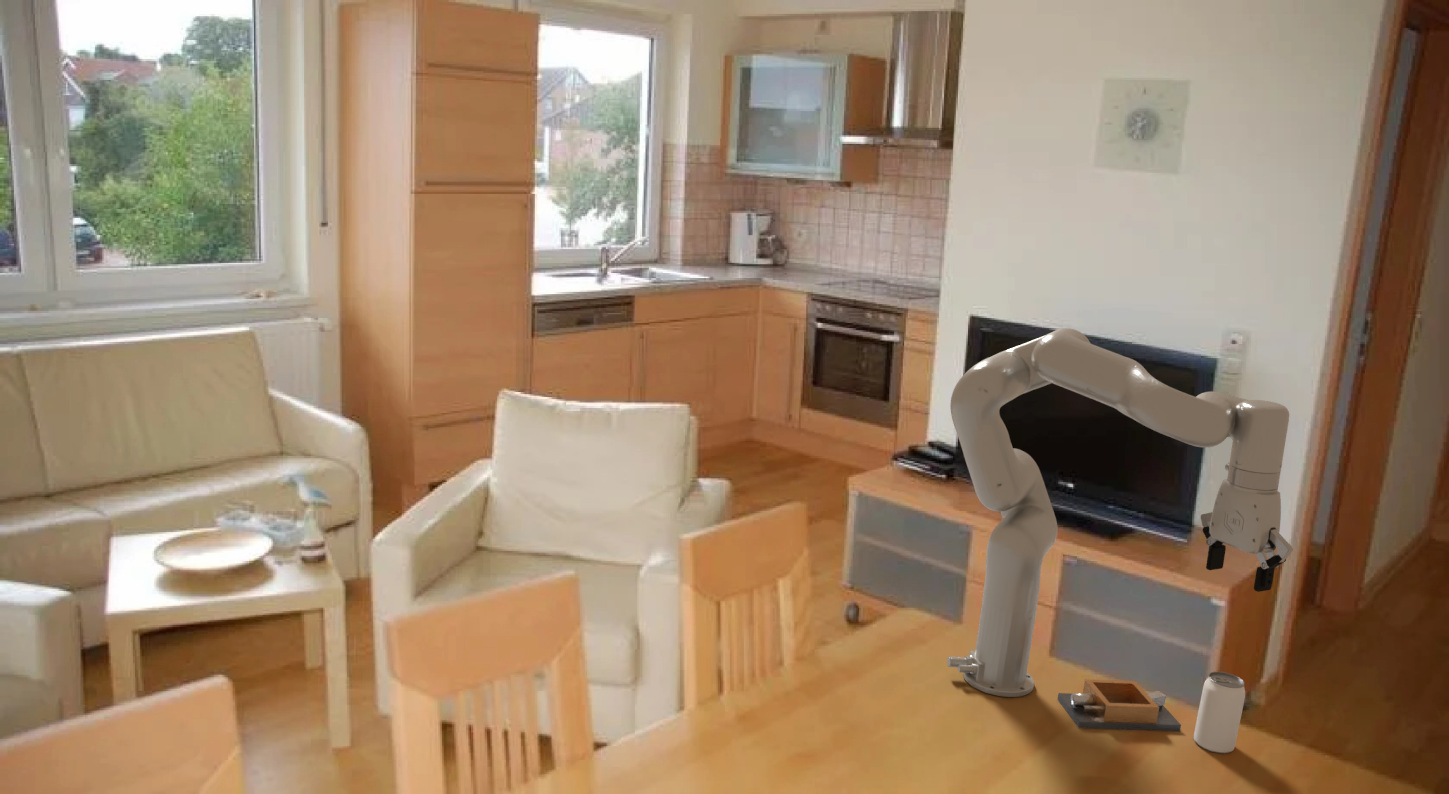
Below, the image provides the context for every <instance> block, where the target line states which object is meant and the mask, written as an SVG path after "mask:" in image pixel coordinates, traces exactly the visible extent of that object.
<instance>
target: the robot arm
mask: <svg viewBox="0 0 1449 794" xmlns="http://www.w3.org/2000/svg"><path fill="white" fill-rule="evenodd" d="M1051 384H1053V385H1056V386H1059V387H1061V388H1064V389H1066V390H1068V391H1071V392H1074V393H1076V394H1079V395H1081V396H1083V397H1086V398H1089V399H1092V400H1094V401H1096V402H1099V403H1101V404H1104V405H1106V406H1108V407H1111V408H1114V409H1115V410H1117V411H1118V412H1120V413H1121V414H1122V415H1124V416H1126V417H1128V418H1130V419H1132V420H1134V421H1136V422H1137V423H1138V424H1140V425H1142V426H1143V427H1144V426H1145V427H1146V428H1148V429H1151V430H1153V431H1154V432H1157V433H1159V434H1160V435H1161V434H1162V435H1164V436H1166V437H1170V438H1171V439H1174V440H1176V441H1179V442H1182V443H1184V444H1187V445H1191V446H1193V447H1198V448H1213V447H1215V446H1218V445H1220V444H1221V443H1223V442H1224V441H1225V440H1226V439H1227V438H1230V439H1232V443H1231V444H1232V445H1231V452H1230V458H1229V462H1227V463H1226V464H1225V466H1224V469H1225V471H1227V476H1226V477H1227V478H1226V479H1223V480H1222V482H1221V483H1220V486H1219V488H1218V491H1217V494H1216V497H1215V500H1214V504H1213V509H1212V511H1211V512H1208V513H1207V512H1206V513H1202V514H1201V515H1200V521H1201V525H1202V527H1203V528H1202V533H1203V534H1204V536H1205V539H1206V540H1205V544H1206V546H1208V551H1207V559H1206V564H1205V565H1206V566H1205V568H1206V570H1208V571H1212V570H1220V569H1221V570H1222V569H1223V567H1224V564H1225V562H1224V561H1225V555H1226V551H1227V550H1226V549H1227V547H1226V546H1227V545H1228V546H1230V547H1232V548H1235V549H1237V550H1240V551H1242V552H1243V553H1247V554H1251V555H1254V554H1255V555H1256V558H1257V561H1258V562H1259V565H1260V566H1257V568H1256V571H1255V572H1256V573H1255V578H1254V585H1253V590H1254V591H1255V592H1258V593H1260V592H1266V591H1270V590H1271V589H1272V585H1273V582H1274V576H1275V575H1274V574H1275V570H1276V568H1279V567H1280V565H1282V564H1284V563H1285V562H1286V561H1287V559H1288V558H1289V557H1290V555H1291V554H1292V552H1293V551H1294V550H1293V549H1294V548H1293V547H1292V545H1291V544H1290V543H1289V542H1288V540H1286V539H1285V538H1284V537H1283V536H1282V535H1281V534H1280V529H1281V519H1282V516H1281V515H1282V514H1281V513H1282V506H1281V505H1282V503H1281V501H1282V500H1281V492H1280V491H1279V484H1280V479H1281V472H1282V465H1283V458H1284V452H1285V448H1286V447H1285V446H1286V441H1287V433H1288V427H1289V422H1290V412H1289V410H1288V408H1287V407H1286V406H1285V405H1283V404H1281V403H1278V402H1274V401H1269V400H1260V399H1250V400H1249V399H1246V398H1242V397H1238V396H1234V395H1231V394H1229V393H1228V394H1226V393H1223V392H1220V391H1205V392H1202V393H1200V394H1198V395H1197V396H1194V395H1191V394H1188V393H1186V392H1183V391H1180V390H1178V389H1177V388H1174V387H1172V386H1169V385H1167V384H1165V383H1163V382H1162V381H1161V380H1159V379H1156V378H1155V377H1154V376H1153V375H1151V374H1150V373H1149V372H1148V371H1147V369H1146V368H1144V366H1143V365H1142V364H1141V363H1140V362H1138V361H1137V360H1134V359H1133V358H1130V357H1127V356H1124V355H1122V354H1119V353H1116V352H1114V351H1112V350H1108V349H1106V348H1103V347H1101V346H1098V345H1095V344H1093V343H1091V342H1090V340H1089V338H1088V337H1087V336H1086V335H1085V334H1084V333H1082V332H1081V331H1079V330H1076V329H1075V328H1070V327H1069V328H1068V327H1066V328H1059V329H1056V330H1054V331H1052V332H1050V333H1047V334H1045V335H1043V336H1040V337H1038V338H1035V339H1032V340H1030V341H1027V342H1025V343H1022V344H1020V345H1016V346H1014V347H1011V348H1008V349H1006V350H1003V351H1000V352H998V353H996V354H994V355H992V356H990V357H989V356H988V357H986V358H984V359H982V360H981V361H979V362H977V363H975V364H974V365H973V366H972V367H970V368H969V369H968V370H967V371H966V372H965V373H964V374H963V375H962V376H961V378H960V379H958V382H956V384H955V386H954V388H953V390H952V394H951V397H950V404H949V405H950V406H949V407H950V413H951V414H950V416H951V419H952V424H953V426H954V429H955V432H956V435H957V438H958V440H959V444H960V447H961V450H962V453H963V458H964V461H965V463H966V466H967V470H968V473H969V475H970V479H971V482H972V485H973V488H974V491H975V494H976V496H977V498H978V501H979V502H980V503H981V504H982V506H984V507H985V508H986V509H988V510H990V511H993V512H999V513H1000V514H1001V517H1002V519H1001V520H1000V521H999V522H998V523H997V525H995V526H994V528H993V529H992V531H991V533H990V535H989V539H988V541H987V546H986V556H985V557H986V559H985V560H986V563H985V565H986V566H985V567H986V568H985V578H984V586H983V592H982V593H983V594H982V601H981V602H982V603H981V609H980V616H979V622H978V624H979V625H978V628H977V630H978V631H977V637H976V643H975V649H974V650H969V654H968V655H964V656H963V657H961V656H953V655H952V656H950V655H949V656H947V658H946V663H947V667H948V668H957V672H958V673H962V675H963V678H964V680H965V682H967V683H968V684H969V685H970V686H971V687H973V688H974V689H976V690H978V691H981V692H983V693H986V694H989V695H993V696H997V697H1004V698H1018V697H1019V698H1020V697H1023V696H1026V695H1028V694H1030V693H1032V691H1033V689H1034V686H1035V680H1034V678H1033V676H1032V675H1031V674H1030V673H1029V672H1028V666H1029V659H1030V654H1031V649H1032V643H1033V642H1032V641H1033V637H1034V636H1033V635H1034V628H1035V622H1036V615H1037V611H1038V601H1039V594H1040V587H1041V573H1042V564H1043V561H1044V557H1045V556H1046V555H1047V553H1048V552H1050V550H1051V548H1052V547H1053V546H1054V544H1055V543H1056V541H1057V537H1058V523H1057V518H1056V515H1055V512H1054V508H1053V506H1052V503H1051V499H1050V496H1049V494H1048V490H1047V488H1046V484H1045V481H1044V478H1043V476H1042V473H1041V470H1040V467H1039V466H1038V464H1037V462H1036V461H1035V460H1034V458H1033V457H1032V456H1031V455H1030V454H1029V453H1027V452H1026V451H1023V450H1021V449H1020V448H1015V447H1014V448H1013V445H1012V442H1011V438H1010V434H1009V431H1008V429H1007V427H1006V424H1005V423H1004V421H1003V419H1002V417H1001V414H1000V409H1001V408H1002V407H1003V406H1004V405H1006V404H1007V403H1009V402H1011V401H1013V400H1014V399H1016V398H1017V397H1019V396H1021V395H1023V394H1027V393H1029V392H1031V391H1033V390H1037V389H1040V388H1042V387H1045V386H1047V385H1048V386H1049V385H1051ZM1276 549H1277V552H1275V550H1276Z"/></svg>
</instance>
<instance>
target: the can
mask: <svg viewBox="0 0 1449 794" xmlns="http://www.w3.org/2000/svg"><path fill="white" fill-rule="evenodd" d="M1245 684H1246V683H1245V681H1244V680H1243V679H1242V678H1240V677H1239V676H1237V675H1235V674H1231V673H1229V672H1225V671H1212V672H1210V673H1208V677H1207V679H1206V680H1204V683H1203V687H1202V692H1201V697H1200V702H1199V706H1198V712H1197V715H1196V716H1197V718H1196V721H1195V726H1194V727H1195V728H1194V733H1193V740H1194V742H1195V743H1196V744H1197V745H1198V747H1200V748H1202V749H1203V750H1206V751H1208V752H1210V753H1215V754H1230V753H1231V752H1232V751H1234V750H1235V747H1236V743H1237V739H1238V734H1239V728H1240V724H1241V723H1240V722H1241V718H1242V713H1243V710H1244V709H1243V708H1244V703H1245V700H1246V699H1245V697H1246V690H1245Z"/></svg>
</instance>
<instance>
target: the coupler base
mask: <svg viewBox="0 0 1449 794" xmlns="http://www.w3.org/2000/svg"><path fill="white" fill-rule="evenodd" d="M1166 698H1167V694H1164V693H1163V692H1161V691H1160V690H1156V691H1155V690H1154V691H1152V692H1148V693H1147V692H1146V691H1145V690H1144V689H1143V687H1142V686H1141V685H1140V684H1139V683H1138V682H1137V681H1135V680H1114V679H1113V680H1111V679H1090V678H1089V679H1087V678H1086V679H1084V682H1083V689H1082V693H1078V692H1077V693H1075V692H1074V693H1065V692H1058V694H1057V701H1058V702H1059V704H1060V705H1061V706H1062V707H1063V710H1065V711H1066V713H1067V714H1068V715H1069V717H1070V718H1071V720H1072V722H1073V723H1074V724H1075V725H1076V727H1077V728H1078V729H1091V730H1092V729H1096V730H1097V729H1098V730H1128V731H1129V730H1131V731H1158V732H1160V731H1161V732H1163V731H1165V732H1181V726H1182V724H1181V723H1180V722H1179V721H1178V719H1176V718H1175V717H1174V715H1173V714H1172V713H1171V712H1170V711H1169V710H1168V709H1167V708H1166V707H1165V704H1166V700H1167V699H1166Z"/></svg>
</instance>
